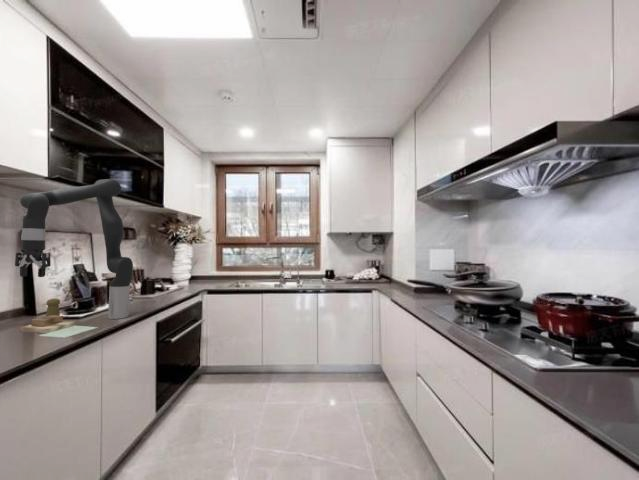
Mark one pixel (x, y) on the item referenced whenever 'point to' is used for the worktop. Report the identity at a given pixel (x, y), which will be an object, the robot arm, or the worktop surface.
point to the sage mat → (68, 331)
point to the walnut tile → (47, 321)
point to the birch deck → (48, 327)
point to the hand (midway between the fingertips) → (32, 276)
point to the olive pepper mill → (53, 307)
